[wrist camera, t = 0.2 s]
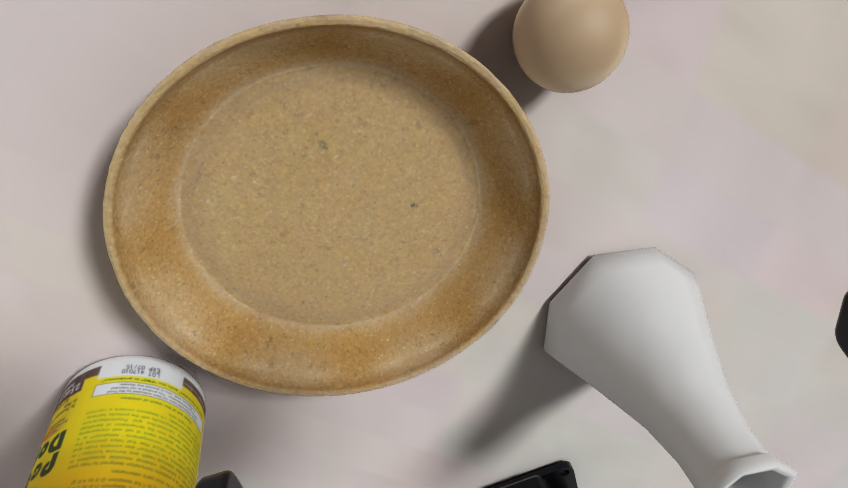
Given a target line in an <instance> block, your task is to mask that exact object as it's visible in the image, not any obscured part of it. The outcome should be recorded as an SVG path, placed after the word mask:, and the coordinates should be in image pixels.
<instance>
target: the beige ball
mask: <svg viewBox="0 0 848 488" xmlns="http://www.w3.org/2000/svg"><path fill="white" fill-rule="evenodd" d="M628 40H629V17H628V13H627V10H626V7H625V5H624V3H623V0H524V2H523V4H522V5H521V7H520V9H519V11H518V13H517V16H516V19H515V23H514V28H513V47H514V52H515V56H516V58H517V61H518V63H519V65H520V67H521V68H522V70H523V71H524V73H525V74H526V75H527V76H528V77H529V78H530V79H531V80H532V81H533V82H535V83H536V84H538V85H539V86H541V87H543V88H545V89H547V90H550V91H554V92H560V93H574V92H580V91H583V90H586V89H589V88H591V87H594V86H595V85H597V84H599V83H600V82H602V81H603V80H605V79H606V78H607V77H608V76H609V75H610V74H611V73H612V72H613V71H614V70H615V68H616V67H617V66H618V64H619V63H620V61H621V59H622V57H623V55H624V53H625V51H626V48H627V44H628Z"/></svg>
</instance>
